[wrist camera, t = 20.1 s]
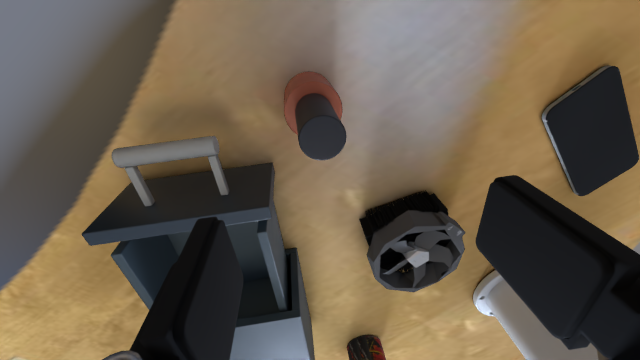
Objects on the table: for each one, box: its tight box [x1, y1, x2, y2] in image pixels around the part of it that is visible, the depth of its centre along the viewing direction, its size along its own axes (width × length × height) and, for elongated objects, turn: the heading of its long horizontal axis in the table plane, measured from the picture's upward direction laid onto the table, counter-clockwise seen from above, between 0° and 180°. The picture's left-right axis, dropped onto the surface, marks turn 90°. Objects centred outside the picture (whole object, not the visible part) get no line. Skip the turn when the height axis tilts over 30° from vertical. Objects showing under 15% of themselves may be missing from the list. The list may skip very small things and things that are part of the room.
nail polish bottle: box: [284, 72, 346, 160], centre depth 20 cm, size 4×4×10 cm
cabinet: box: [230, 248, 315, 360], centre depth 33 cm, size 17×15×9 cm
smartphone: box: [542, 66, 639, 196], centre depth 29 cm, size 7×1×15 cm
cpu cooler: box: [359, 190, 465, 292], centre depth 31 cm, size 10×6×10 cm
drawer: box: [82, 136, 291, 320], centre depth 25 cm, size 20×13×7 cm, turn 5°
